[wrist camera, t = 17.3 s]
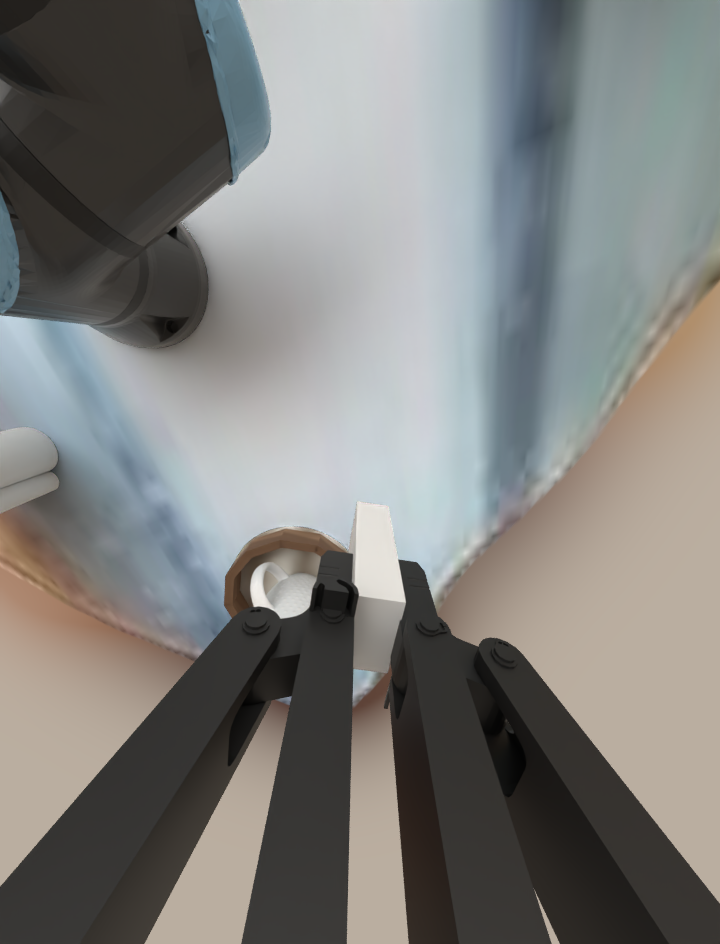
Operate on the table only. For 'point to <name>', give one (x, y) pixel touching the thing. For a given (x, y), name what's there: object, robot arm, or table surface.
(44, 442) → the vase
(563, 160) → the table surface
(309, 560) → the holder
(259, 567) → the mug
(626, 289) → the table surface
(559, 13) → the table surface
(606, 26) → the table surface
